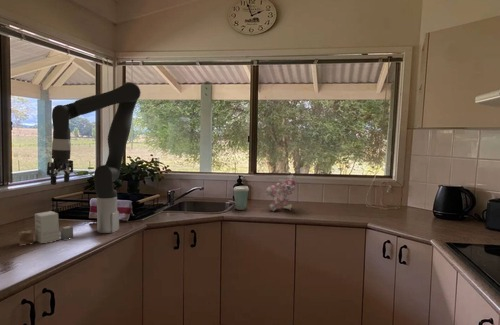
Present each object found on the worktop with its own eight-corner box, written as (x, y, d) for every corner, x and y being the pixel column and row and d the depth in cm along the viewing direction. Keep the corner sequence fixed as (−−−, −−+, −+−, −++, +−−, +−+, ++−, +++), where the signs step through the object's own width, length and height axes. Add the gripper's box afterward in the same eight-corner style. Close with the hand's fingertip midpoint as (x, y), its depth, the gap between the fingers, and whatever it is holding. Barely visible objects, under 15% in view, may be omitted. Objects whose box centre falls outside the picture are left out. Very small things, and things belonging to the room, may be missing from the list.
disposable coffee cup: (239, 211, 216) (240, 188, 214) (229, 208, 223) (229, 186, 222) (251, 209, 223) (252, 187, 221) (241, 206, 231) (241, 184, 229)
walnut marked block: (32, 241, 149) (32, 229, 149) (33, 244, 145) (33, 232, 145) (19, 243, 146) (18, 231, 146) (19, 246, 142) (19, 234, 142)
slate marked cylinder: (75, 237, 156) (75, 226, 155) (68, 240, 151) (68, 229, 150) (65, 236, 157) (65, 225, 156) (58, 239, 152) (58, 228, 151)
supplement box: (52, 237, 155) (52, 210, 154) (59, 240, 150) (58, 213, 149) (34, 241, 149) (34, 213, 148) (41, 244, 144) (40, 216, 143)
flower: (263, 202, 238) (262, 173, 225) (294, 199, 239) (295, 170, 226) (266, 221, 221) (265, 190, 208) (300, 217, 222) (301, 187, 209)
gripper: (57, 150, 146) (56, 186, 148) (78, 148, 160) (77, 182, 162) (42, 148, 147) (41, 184, 149) (64, 147, 161) (63, 180, 163)
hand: (60, 183), depth 155 cm, fingers open, 8 cm apart
